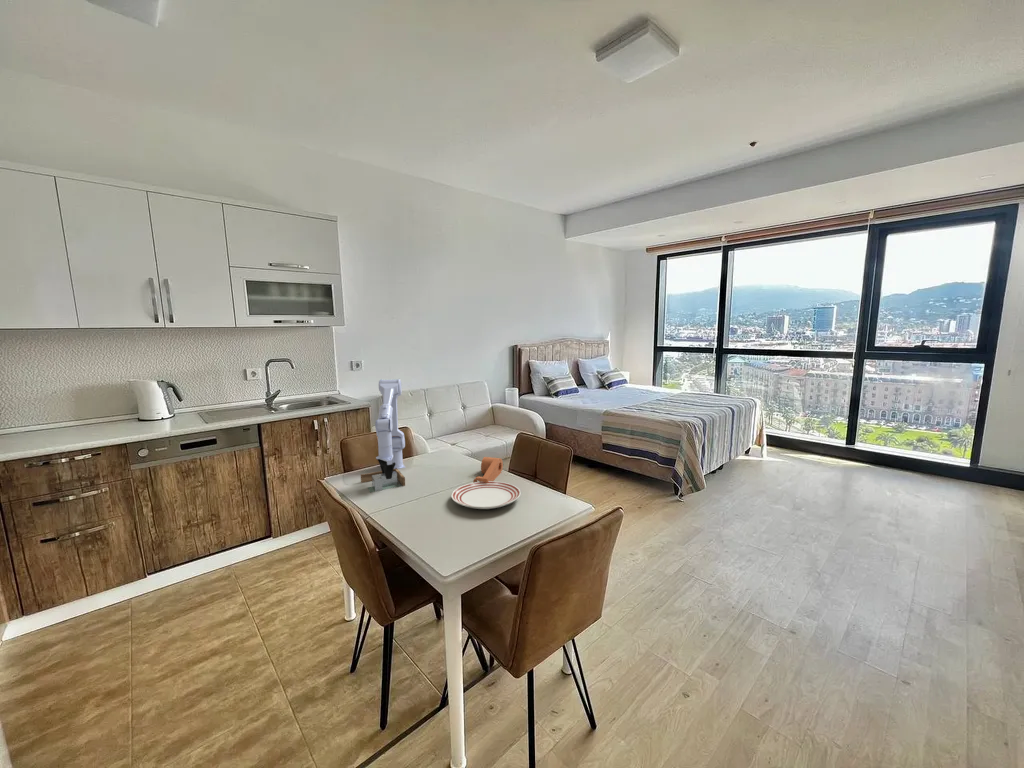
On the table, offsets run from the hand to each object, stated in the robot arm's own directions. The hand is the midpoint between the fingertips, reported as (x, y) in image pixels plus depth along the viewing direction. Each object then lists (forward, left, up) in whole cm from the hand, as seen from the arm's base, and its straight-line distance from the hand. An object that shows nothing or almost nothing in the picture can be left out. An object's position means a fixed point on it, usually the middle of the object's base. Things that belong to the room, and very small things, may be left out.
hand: (386, 476), depth 173 cm
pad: (0, -2, -4) cm, 5 cm away
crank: (+15, +41, -5) cm, 44 cm away
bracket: (0, -1, -4) cm, 4 cm away
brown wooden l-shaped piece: (-2, -2, -4) cm, 5 cm away
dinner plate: (+36, +30, -5) cm, 47 cm away
